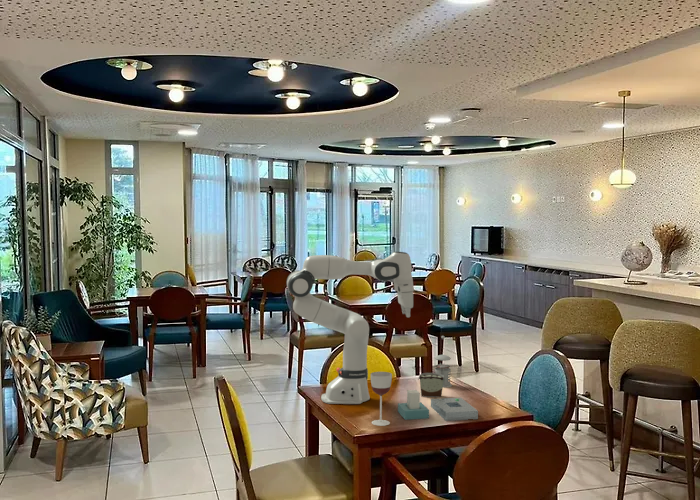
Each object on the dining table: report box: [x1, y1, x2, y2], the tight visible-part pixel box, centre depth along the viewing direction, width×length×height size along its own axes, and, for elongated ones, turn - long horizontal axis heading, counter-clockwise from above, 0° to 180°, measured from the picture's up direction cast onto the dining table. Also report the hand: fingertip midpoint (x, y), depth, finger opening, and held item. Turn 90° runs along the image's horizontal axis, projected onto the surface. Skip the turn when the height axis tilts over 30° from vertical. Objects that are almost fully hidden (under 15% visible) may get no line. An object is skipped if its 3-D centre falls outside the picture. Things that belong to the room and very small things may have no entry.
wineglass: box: [370, 371, 393, 427], centre depth 252 cm, size 8×9×20 cm
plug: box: [406, 389, 421, 409], centre depth 263 cm, size 4×5×10 cm
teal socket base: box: [397, 401, 430, 420], centre depth 263 cm, size 10×11×4 cm
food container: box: [418, 372, 445, 398], centre depth 294 cm, size 12×6×10 cm, turn 84°
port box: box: [430, 397, 479, 422], centre depth 266 cm, size 14×20×4 cm
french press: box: [434, 335, 453, 389], centre depth 311 cm, size 10×12×25 cm
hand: (406, 315), depth 289 cm, fingers open, 8 cm apart
